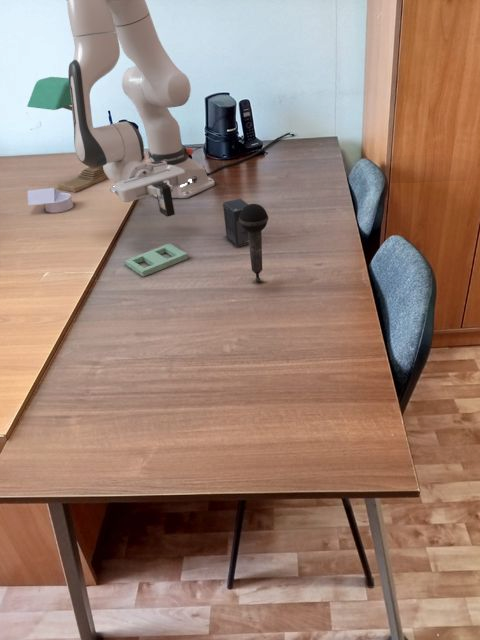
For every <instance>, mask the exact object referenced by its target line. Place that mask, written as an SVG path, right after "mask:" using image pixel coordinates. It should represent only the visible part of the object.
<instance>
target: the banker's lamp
mask: <svg viewBox="0 0 480 640" xmlns="http://www.w3.org/2000/svg"><path fill="white" fill-rule="evenodd" d="M27 107H28V108H32V109H33V108H35V109H42V110H51V111H56V110H61V109H64V110H68V111H71V112H72V106H71V97H70V88H69V77H61V76H48V77H44V78H41V79H38V80H37V81H36V82H35V85H34V86H33V89H32V92H31V95H30V97H29V100H28V102H27V106H26V108H27ZM106 179H109V178H108V177H107V176H106V174H105V172H104V169H103V166H101V167H98V168H96V169H93V168H91V167H86V168H84V169H83V170H81V172H80V173H79V174H78V175H77V176H76V178H73V179H70V180H69V181H66V182H64V183H58V184H57V185H58V188H59V190H63V191H66V192H67V191H68V192H73V193H77V192H79V191H81V190H84V189H86V188H89V187H91V186H93V185H95V184H97V183H100V182H102V181H105V180H106Z"/></svg>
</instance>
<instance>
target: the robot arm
mask: <svg viewBox="0 0 480 640" xmlns="http://www.w3.org/2000/svg"><path fill="white" fill-rule="evenodd" d="M66 1H67V2H66V3H67V13H68V19H69V27H70V30H71V34H72V37H73V42H74V56H73V60H72V61H71V62H70V63H69V65H68V78H69V88H70V97H71V105H70V106H71V107H72V111H71V113H72V122H73V123H72V124H73V139H74V140H73V143H74V144H73V145H74V151H75V154H76V157H77V159H78V161H80V163H82V164H84V166H86V167H87V168H89V167H91V168H93V169H96V168H98V167H101V166H103V169H104V172H105V174H106V176H107V177H108V178H107V179H109V180H110V182H112V183H113V184H114V185H112V187H111V188H109V191H110V192H111V193H112V194H116V196H117V198H119V200H120V201H122V202H123V203H131V202H134V201H137V200H140V199H144V198H146V197H150V196H153V197H154V198H155V197H156V198H157V195H158V196H162V194H161V190H160V189H159V188H157V187H155V185H156V184H160V183H164V184H166V185H168V186H169V187H170V190H171V196H172V199H188V198H190V197H192V196H194V195H196V194H198V193H201V192H203V191H205V190H207V189H209V188H211V187H214V186H216V183H215V180H214V179H213V178H211V177H209V176H210V175H213V174H215V173H216V172H217V171H219V170H222V169H224V168H228V167H231V166H233V165H236V164H239V163H242V162H244V161H246V160H248V159H251V158H253V157H255V156H257V155H258V154H260V153H262V152H263V151H264V150H266V149H267V148H269V147H270V146H271V145H273V144H275V142H277V141H279V140H280V139H281V140H282V139H283V138H285V137H287V136H292V137H295V134H294V133H293V134H290V133H291V132H287V133H285V134H283V135H280V136H278V137H276V138H275V139H274V140H272V141H271V142H269V143H268V144H266V145H265V146H264V147H262V148H261V149H259V150H258V151H256V152H254V153H251V154H250V155H248V156H246V157H244V158H240V159H239V160H236V161H233V162H230V163H227V164H224V165H220V166H218V167H216V168H215V169H214V170H212V171H210V172H207V170H206V168H205V166H204V165H202V164H200V163H199V162H197V161H196V160H194V159H192V158H191V157H189V155H190V156H192V155H193V154H194V149H193V148H190V147H187V148H186V147H184V146H183V143H182V136H181V129H180V124H179V122H178V120H177V119H176V118H175V117H174V116H173V115H172V113H171V112H170V109H171V108H177V107H182V106H184V105H186V104H187V102H188V101H189V99H190V96H191V92H192V91H191V87H192V86H191V83H190V80H189V77H188V76H187V75H186V74H185V73H184V71H182V70H180V69H179V67H177V66H176V64H175V63H174V62H173V60H172V59H171V57H170V55H168V52H167V51H166V50H165V48H164V46H163V44H162V42H161V40H160V38H159V35H158V32H157V30H156V26H155V25H154V22H153V19H152V16H151V12H150V10H149V7H148V4H147V1H146V0H66ZM120 48H121V49H122V51H123V53H124V55H125V56H126V57H127V58H128V59H129V60H131V61H132V62H133V64H134V65H135V66H131V67H128V68H127V69H125V71H124V72H123V74H122V78H121V87H122V90H123V93H124V94H125V96H126V97H127V98H128V99H129V100H130V102H132V104H133V106H134V108H135V109H136V111H137V113H138V115H139V117H140V120H141V122H142V124H143V128H144V132H145V138H146V142H147V147H148V151H147V155H148V161H143V160H144V154H145V146H144V145H145V143H144V139H143V137H142V134H141V132H140V131H139V130H138V129H137V128H136V126H135V125H133V123H131V122H129V121H126V120H125V121H120V122H113V123H110V124H107V125H102V126H97V127H94V125H93V116H92V107H91V95H90V94H91V91H92V89H93V86H94V85H95V84H96V83H97V82H98V81H99V80H101V79H103V78H104V77H105V76H107V75H108V74H109V73H110V72H112V71H113V69H115V67H116V66H117V64H118V62H119V59H120V56H121V50H120ZM169 108H170V109H169Z"/></svg>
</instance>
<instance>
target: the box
mask: <svg viewBox="0 0 480 640" xmlns="http://www.w3.org/2000/svg"><path fill="white" fill-rule="evenodd" d="M247 205H249V203H248V202H246V201H245V200H243V199H242V198H237V199H236V198H235V199H232V200H228V201H224V202H222V207H223V217H224V227H225V236H226V238H227V239H228V240H229V241H230V242H231V243H232V244H234V245H235V246H236V247H237V248H238V247H242V246H246V245H249V240H248V232H247V231H246V230H245V229H243V227H242V226H241V224H240V222H239V217H240V213H241V211H242V209H243V208H244V207H245V206H247Z"/></svg>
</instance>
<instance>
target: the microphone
mask: <svg viewBox="0 0 480 640" xmlns="http://www.w3.org/2000/svg"><path fill="white" fill-rule="evenodd" d="M268 221H269V215H268V213H267V211H266V209H265V207H264V206H262V205H260V204H258V203H248V205H247V206H245V207H244V208H243V209H242V211H241V213H240V217H239V222H240V224H241V226H242V227H243V229H245V230H246V231H247V232H248V240H249V244H248V248H249V256H250V257H249V258H250V265H251V271H252V272H253V273H254V274H255V279H254V281H255V282H256V283H260V282H261V278H260V274H261V273H262V271H263V243H262V242H263V241H262V237H263V235H262V232H263V230H264V229H265V228H266V227H267V225H268Z"/></svg>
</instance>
